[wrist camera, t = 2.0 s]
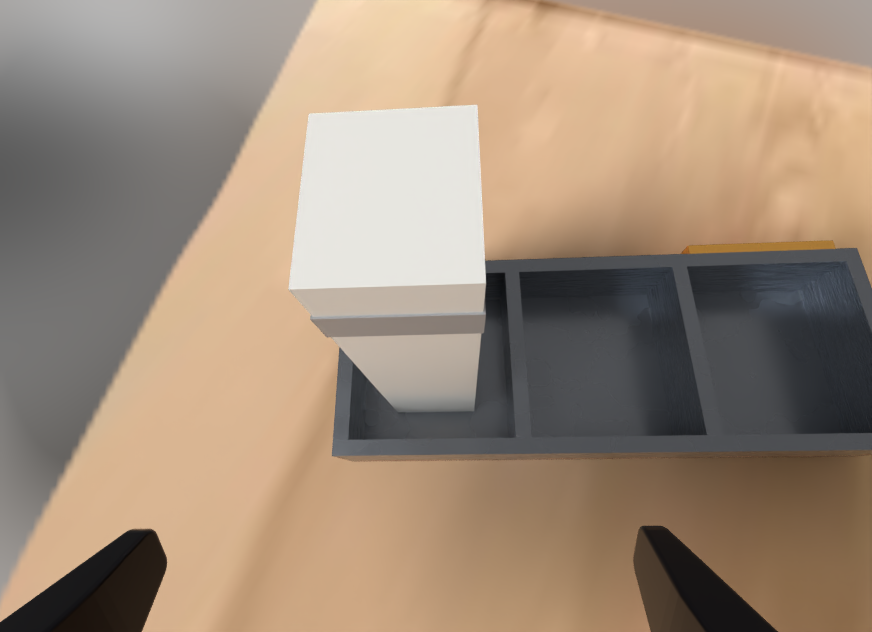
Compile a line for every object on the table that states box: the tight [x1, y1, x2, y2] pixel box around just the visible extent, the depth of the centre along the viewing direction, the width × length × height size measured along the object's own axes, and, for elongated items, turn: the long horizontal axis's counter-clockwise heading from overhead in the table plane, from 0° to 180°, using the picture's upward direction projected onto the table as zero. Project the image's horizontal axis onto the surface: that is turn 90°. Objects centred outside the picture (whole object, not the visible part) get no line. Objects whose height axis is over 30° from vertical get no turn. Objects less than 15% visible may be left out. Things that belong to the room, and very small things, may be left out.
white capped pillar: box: [288, 105, 486, 412], centre depth 15 cm, size 4×4×14 cm
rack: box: [332, 241, 872, 461], centre depth 20 cm, size 22×9×4 cm, turn 90°
